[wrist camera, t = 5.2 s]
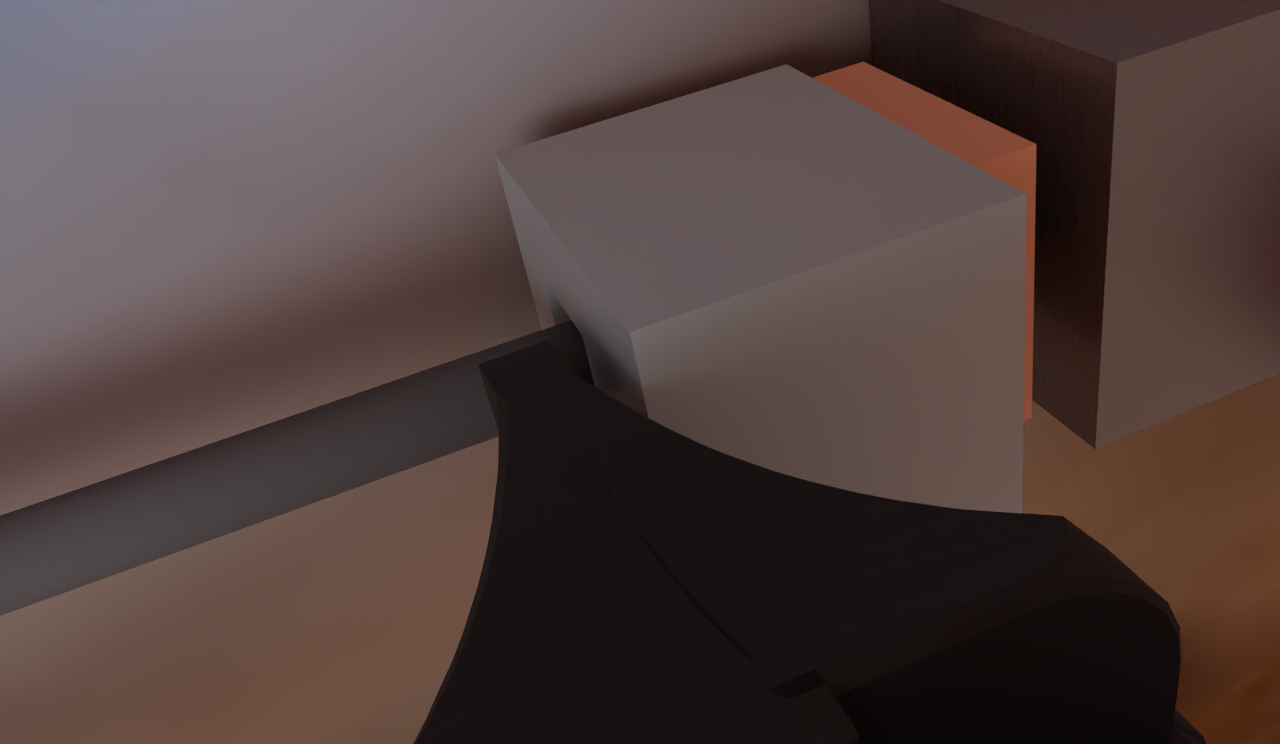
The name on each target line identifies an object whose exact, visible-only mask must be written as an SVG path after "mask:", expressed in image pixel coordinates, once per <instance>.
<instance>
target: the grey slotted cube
mask: <svg viewBox="0 0 1280 744" xmlns="http://www.w3.org/2000/svg"><path fill="white" fill-rule="evenodd" d="M495 158H496V162H497V165H498V169H499V173H500V177H501V180H502V184H503V188H504V192H505V195H506V199H507V203H508V206H509V210H510V214H511V218H512V221H513V225H514V229H515V232H516V236H517V240H518V244H519V247H520V251H521V255H522V259H523V262H524V266H525V270H526V273H527V277H528V281H529V285H530V288H531V292H532V296H533V300H534V303H535V307H536V311H537V314H538V318H539V322H540V326H541V329H542V330H544V329H547V328H550V327H552V326H555V325H558V324H561V323H564V322H567V321H570V320H572V322H573V323H574V325H575V326H576V328H577V329H578V330H579V332H580V333H581V335H582V336H583V340H584V345H585V349H586V353H587V357H588V361H589V365H590V369H591V373H592V377H593V381H594V385H595V387H596V388H598V389H600V390H601V391H603V392H604V393H606V394H608V395H609V396H611V397H613V398H614V399H616V400H618V401H620V402H621V403H623V404H625V405H627V406H628V407H630V408H632V409H634V410H635V411H637V412H639V413H641V414H643V415H644V416H646V417H648V418H650V419H651V420H653V421H655V422H657V423H659V424H661V425H663V426H665V427H667V428H669V429H671V430H673V431H675V432H677V433H679V434H681V435H683V436H685V437H688V438H690V439H692V440H694V441H696V442H698V443H700V444H702V445H705V446H707V447H709V448H712V449H714V450H717V451H719V452H722V453H724V454H727V455H730V456H733V457H736V458H738V459H741V460H744V461H747V462H750V463H753V464H755V465H758V466H761V467H764V468H767V469H770V470H773V471H776V472H779V473H783V474H786V475H789V476H793V477H796V478H800V479H803V480H808V481H812V482H816V483H820V484H824V485H828V486H832V487H836V488H840V489H844V490H848V491H852V492H857V493H862V494H867V495H872V496H878V497H883V498H888V499H893V500H900V501H907V502H914V503H921V504H927V505H934V506H941V507H948V508H956V509H966V510H981V511H995V512H1009V513H1023V444H1024V360H1025V277H1026V193H1024V192H1022V191H1020V190H1018V189H1016V188H1015V187H1013V186H1011V185H1009V184H1007V183H1005V182H1003V181H1002V180H1000V179H998V178H996V177H994V176H992V175H991V174H989V173H987V172H985V171H983V170H981V169H979V168H978V167H976V166H974V165H972V164H970V163H968V162H966V161H965V160H963V159H961V158H959V157H957V156H955V155H954V154H952V153H950V152H948V151H946V150H944V149H942V148H941V147H939V146H937V145H935V144H933V143H931V142H930V141H928V140H926V139H924V138H922V137H920V136H918V135H917V134H915V133H913V132H911V131H909V130H907V129H906V128H904V127H902V126H900V125H898V124H896V123H894V122H893V121H891V120H889V119H887V118H885V117H883V116H881V115H880V114H878V113H876V112H874V111H872V110H870V109H869V108H867V107H865V106H863V105H861V104H859V103H857V102H856V101H854V100H852V99H850V98H848V97H846V96H845V95H843V94H841V93H839V92H837V91H835V90H833V89H832V88H830V87H828V86H826V85H824V84H822V83H821V82H819V81H817V80H815V79H813V78H811V77H809V76H808V75H806V74H804V73H802V72H800V71H798V70H796V69H795V68H793V67H791V66H789V65H787V64H786V65H782V66H779V67H776V68H773V69H769V70H766V71H763V72H760V73H756V74H753V75H750V76H747V77H743V78H740V79H737V80H734V81H730V82H727V83H724V84H721V85H717V86H714V87H711V88H708V89H704V90H701V91H698V92H695V93H691V94H688V95H685V96H682V97H678V98H675V99H672V100H669V101H665V102H662V103H659V104H656V105H652V106H649V107H646V108H642V109H639V110H636V111H633V112H629V113H626V114H623V115H620V116H616V117H613V118H610V119H607V120H603V121H600V122H597V123H594V124H590V125H587V126H584V127H581V128H577V129H574V130H571V131H568V132H564V133H561V134H558V135H555V136H551V137H548V138H545V139H542V140H538V141H535V142H532V143H529V144H525V145H522V146H519V147H516V148H512V149H509V150H506V151H503V152H499V153H496V154H495Z"/></svg>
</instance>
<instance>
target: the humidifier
mask: <svg viewBox="0 0 1280 744" xmlns="http://www.w3.org/2000/svg"><path fill="white" fill-rule="evenodd" d="M1171 744H1206V742H1205V740H1204V738H1203V736H1202V735H1201V734H1200V733H1199V732H1198V731H1197V730H1196V729H1195V728H1194V727H1193V726H1192V725H1191V724H1190V723H1189V722H1188V721H1187V720H1186V719H1185V718H1184V717H1183V716H1182V715H1180V714H1179V713H1178V712H1177V711H1176V710H1175V713H1174V721H1173V729H1172V737H1171Z"/></svg>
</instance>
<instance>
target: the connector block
mask: <svg viewBox="0 0 1280 744" xmlns="http://www.w3.org/2000/svg"><path fill="white" fill-rule="evenodd" d="M869 7H870V22H871V37H872V53H873V66H874V67H876V68H878V69H880V70H882V71H884V72H886V73H888V74H890V75H892V76H895V77H897V78H899V79H901V80H903V81H905V82H907V83H909V84H911V85H913V86H916V87H918V88H920V89H922V90H924V91H926V92H928V93H930V94H932V95H934V96H936V97H939V98H941V99H943V100H945V101H947V102H949V103H951V104H953V105H955V106H957V107H960V108H962V109H964V110H966V111H968V112H970V113H972V114H974V115H976V116H978V117H980V118H983V119H985V120H987V121H989V122H991V123H993V124H995V125H997V126H999V127H1001V128H1004V129H1006V130H1008V131H1010V132H1012V133H1014V134H1016V135H1018V136H1020V137H1022V138H1025V139H1027V140H1029V141H1031V142H1033V143H1035V144H1036V201H1035V261H1034V320H1033V379H1032V400H1033V401H1034V402H1036V403H1037V404H1038V405H1040V406H1041V407H1042V408H1043V409H1045V410H1046V411H1047V412H1049V413H1050V414H1051V415H1052V416H1054V417H1055V418H1056V419H1058V420H1059V421H1060V422H1061V423H1063V424H1064V425H1065V426H1067V427H1068V428H1069V429H1070V430H1072V431H1073V432H1074V433H1076V434H1077V435H1078V436H1079V437H1081V438H1082V439H1083V440H1085V441H1086V442H1087V443H1088V444H1090V445H1091V446H1092V447H1094V448H1095V449H1097V448H1099V447H1102V446H1104V445H1106V444H1109V443H1111V442H1114V441H1116V440H1119V439H1121V438H1124V437H1126V436H1129V435H1131V434H1133V433H1136V432H1138V431H1141V430H1143V429H1146V428H1148V427H1151V426H1153V425H1156V424H1158V423H1160V422H1163V421H1165V420H1168V419H1170V418H1173V417H1175V416H1178V415H1180V414H1183V413H1185V412H1187V411H1190V410H1192V409H1195V408H1197V407H1200V406H1202V405H1205V404H1207V403H1210V402H1212V401H1214V400H1217V399H1219V398H1222V397H1224V396H1227V395H1229V394H1232V393H1234V392H1237V391H1239V390H1241V389H1244V388H1246V387H1249V386H1251V385H1254V384H1256V383H1259V382H1261V381H1264V380H1266V379H1268V378H1271V377H1273V376H1276V375H1278V374H1280V0H869Z"/></svg>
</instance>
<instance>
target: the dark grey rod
mask: <svg viewBox="0 0 1280 744" xmlns="http://www.w3.org/2000/svg"><path fill="white" fill-rule="evenodd" d="M813 79H815V80H817V81H819V82H821V83H822V84H824V85H826V86H828V87H830V88H832V89H833V90H835V91H837V92H839V93H841V94H843V95H845V96H846V97H848V98H850V99H852V100H854V101H856V102H857V103H859V104H861V105H863V106H865V107H867V108H869V109H870V110H872V111H874V112H876V113H878V114H880V115H881V116H883V117H885V118H887V119H889V120H891V121H893V122H894V123H896V124H898V125H900V126H902V127H904V128H906V129H907V130H909V131H911V132H913V133H915V134H917V135H918V136H920V137H922V138H924V139H926V140H928V141H930V142H931V143H933V144H935V145H937V146H939V147H941V148H942V149H944V150H946V151H948V152H950V153H952V154H954V155H955V156H957V157H959V158H961V159H963V160H965V161H966V162H968V163H970V164H972V165H974V166H976V167H978V168H979V169H981V170H983V171H985V172H987V173H989V174H991V175H992V176H994V177H996V178H998V179H1000V180H1002V181H1003V182H1005V183H1007V184H1009V185H1011V186H1013V187H1015V188H1016V189H1018V190H1020V191H1022V192H1024V193H1026V277H1025V360H1024V421H1026V420H1028V419H1031V418H1032V379H1033V320H1034V261H1035V201H1036V144H1035V143H1033V142H1031V141H1029V140H1027V139H1025V138H1022V137H1020V136H1018V135H1016V134H1014V133H1012V132H1010V131H1008V130H1006V129H1004V128H1001V127H999V126H997V125H995V124H993V123H991V122H989V121H987V120H985V119H983V118H980V117H978V116H976V115H974V114H972V113H970V112H968V111H966V110H964V109H962V108H960V107H957V106H955V105H953V104H951V103H949V102H947V101H945V100H943V99H941V98H939V97H936V96H934V95H932V94H930V93H928V92H926V91H924V90H922V89H920V88H918V87H916V86H913V85H911V84H909V83H907V82H905V81H903V80H901V79H899V78H897V77H895V76H892V75H890V74H888V73H886V72H884V71H882V70H880V69H878V68H876V67H874V66H872V65H869V64H867V63H865V62H861V63H858V64H854V65H851V66H848V67H845V68H842V69H838V70H835V71H832V72H829V73H825V74H822V75H819V76H816V77H813ZM547 340H548V341H549V342H550V343H551V344H553V345H554V346H555V347H556V348H557V349H558V350H559V351H560V352H561V353H562V354H563V355H564V357H565V358H566V359H567V360H568V361H569V362H570V364H571V366H572V368H573V370H574V372H575V374H576V375H578V376H579V377H581V378H582V379H584V380H586V381H587V382H589V383H590V384H592V385H593V386H595V385H594V381H593V377H592V373H591V369H590V365H589V361H588V357H587V353H586V349H585V345H584V340H583V336H582V335H581V333H580V332H579V330H578V329H577V328H576V326H575V325H574V323H573V322H572V320H570V321H567V322H564V323H561V324H558V325H555V326H552V327H550V328H547V329H544V330H541V331H538V332H535V333H532V334H529V335H526V336H523V337H520V338H518V339H515V340H512V341H509V342H506V343H503V344H500V345H497V346H494V347H491V348H488V349H485V350H483V351H480V352H477V353H474V354H471V355H468V356H465V357H462V358H459V359H456V360H453V361H450V362H448V363H445V364H442V365H439V366H436V367H433V368H430V369H427V370H424V371H421V372H418V373H415V374H413V375H410V376H407V377H404V378H401V379H398V380H395V381H392V382H389V383H386V384H383V385H380V386H378V387H375V388H372V389H369V390H366V391H363V392H360V393H357V394H354V395H351V396H348V397H346V398H343V399H340V400H337V401H334V402H331V403H328V404H325V405H322V406H319V407H316V408H313V409H311V410H308V411H305V412H302V413H299V414H296V415H293V416H290V417H287V418H284V419H281V420H278V421H276V422H273V423H270V424H267V425H264V426H261V427H258V428H255V429H252V430H249V431H246V432H243V433H241V434H238V435H235V436H232V437H229V438H226V439H223V440H220V441H217V442H214V443H211V444H209V445H206V446H203V447H200V448H197V449H194V450H191V451H188V452H185V453H182V454H179V455H176V456H174V457H171V458H168V459H165V460H162V461H159V462H156V463H153V464H150V465H147V466H144V467H141V468H139V469H136V470H133V471H130V472H127V473H124V474H121V475H118V476H115V477H112V478H109V479H106V480H104V481H101V482H98V483H95V484H92V485H89V486H86V487H83V488H80V489H77V490H74V491H71V492H69V493H66V494H63V495H60V496H57V497H54V498H51V499H48V500H45V501H42V502H39V503H37V504H34V505H31V506H28V507H25V508H22V509H19V510H16V511H13V512H10V513H7V514H4V515H2V516H0V615H3V614H6V613H9V612H11V611H14V610H17V609H20V608H23V607H25V606H28V605H31V604H34V603H36V602H39V601H42V600H45V599H48V598H50V597H53V596H56V595H59V594H61V593H64V592H67V591H70V590H73V589H75V588H78V587H81V586H84V585H86V584H89V583H92V582H95V581H98V580H100V579H103V578H106V577H109V576H111V575H114V574H117V573H120V572H123V571H125V570H128V569H131V568H134V567H137V566H139V565H142V564H145V563H148V562H150V561H153V560H156V559H159V558H162V557H164V556H167V555H170V554H173V553H175V552H178V551H181V550H184V549H187V548H189V547H192V546H195V545H198V544H200V543H203V542H206V541H209V540H212V539H214V538H217V537H220V536H223V535H225V534H228V533H231V532H234V531H237V530H239V529H242V528H245V527H248V526H250V525H253V524H256V523H259V522H262V521H264V520H267V519H270V518H273V517H275V516H278V515H281V514H284V513H287V512H289V511H292V510H295V509H298V508H300V507H303V506H306V505H309V504H312V503H314V502H317V501H320V500H323V499H325V498H328V497H331V496H334V495H337V494H339V493H342V492H345V491H348V490H350V489H353V488H356V487H359V486H362V485H364V484H367V483H370V482H373V481H375V480H378V479H381V478H384V477H387V476H389V475H392V474H395V473H398V472H400V471H403V470H406V469H409V468H412V467H414V466H417V465H420V464H423V463H425V462H428V461H431V460H434V459H437V458H439V457H442V456H445V455H448V454H450V453H453V452H456V451H459V450H462V449H464V448H467V447H470V446H473V445H475V444H478V443H481V442H484V441H487V440H489V439H492V438H495V437H498V436H499V430H498V427H497V424H496V421H495V418H494V414H493V411H492V408H491V405H490V402H489V398H488V395H487V392H486V389H485V386H484V383H483V379H482V376H481V373H480V370H479V367H478V364H481V363H484V362H486V361H489V360H492V359H495V358H498V357H501V356H504V355H506V354H509V353H512V352H515V351H518V350H521V349H524V348H527V347H529V346H532V345H535V344H538V343H541V342H544V341H547Z"/></svg>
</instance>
